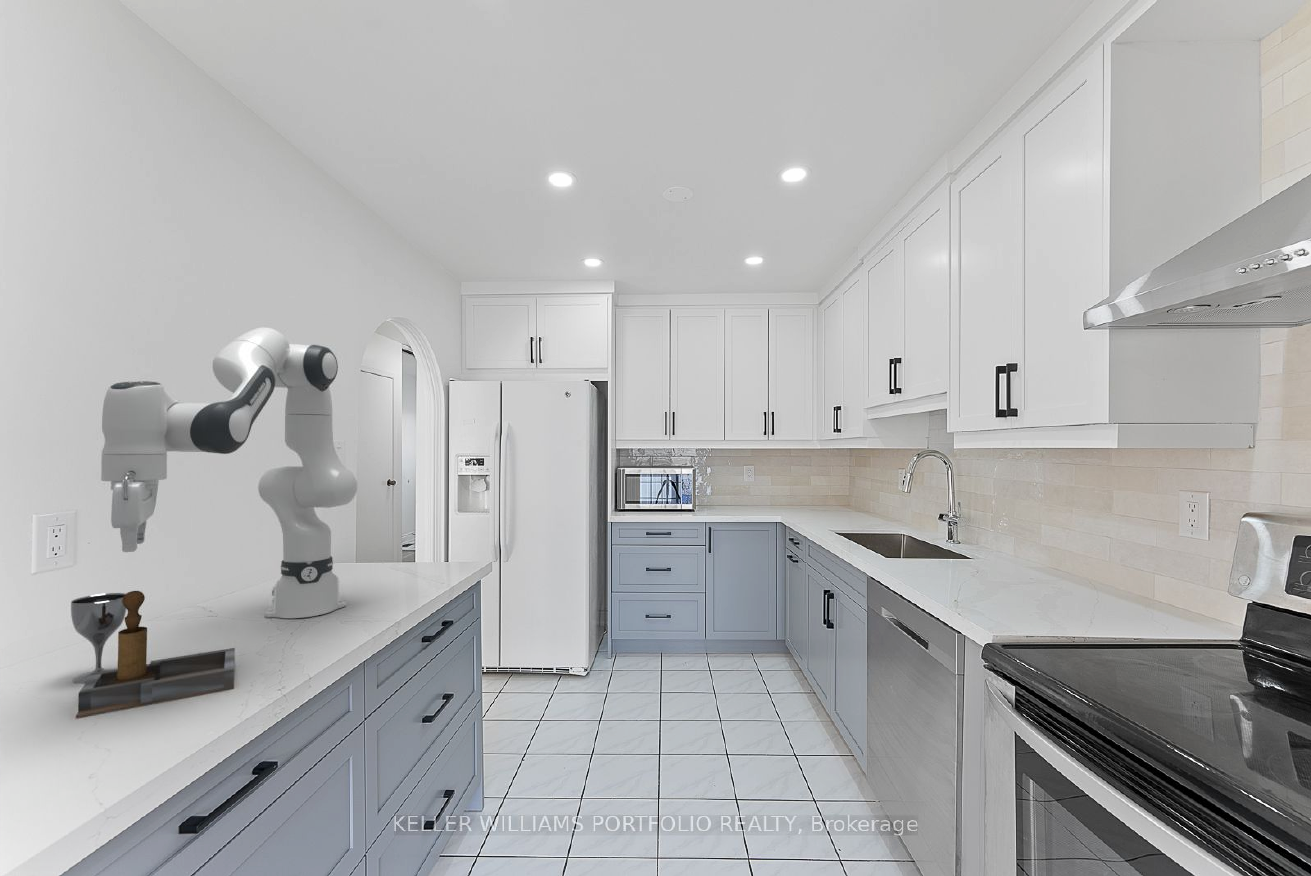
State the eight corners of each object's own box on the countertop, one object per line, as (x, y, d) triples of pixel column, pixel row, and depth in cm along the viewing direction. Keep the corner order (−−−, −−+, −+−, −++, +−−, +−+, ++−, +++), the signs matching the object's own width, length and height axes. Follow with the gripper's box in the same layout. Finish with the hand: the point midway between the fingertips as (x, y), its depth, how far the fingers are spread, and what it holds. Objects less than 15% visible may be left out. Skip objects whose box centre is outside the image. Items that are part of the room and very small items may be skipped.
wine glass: (59, 686, 108) (61, 605, 108) (82, 671, 116) (84, 595, 116) (114, 680, 111) (116, 601, 111) (133, 665, 119) (134, 591, 119)
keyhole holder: (93, 689, 107) (93, 670, 107) (234, 664, 119) (234, 647, 119) (75, 718, 96) (76, 697, 96) (233, 688, 108) (234, 669, 108)
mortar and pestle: (126, 701, 101) (127, 597, 101) (96, 698, 102) (98, 595, 102) (165, 686, 107) (166, 588, 108) (136, 683, 109) (138, 586, 109)
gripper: (150, 472, 99) (149, 554, 99) (163, 468, 115) (162, 538, 115) (99, 473, 95) (98, 558, 95) (120, 468, 112) (119, 541, 112)
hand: (133, 547), depth 105 cm, fingers open, 8 cm apart
